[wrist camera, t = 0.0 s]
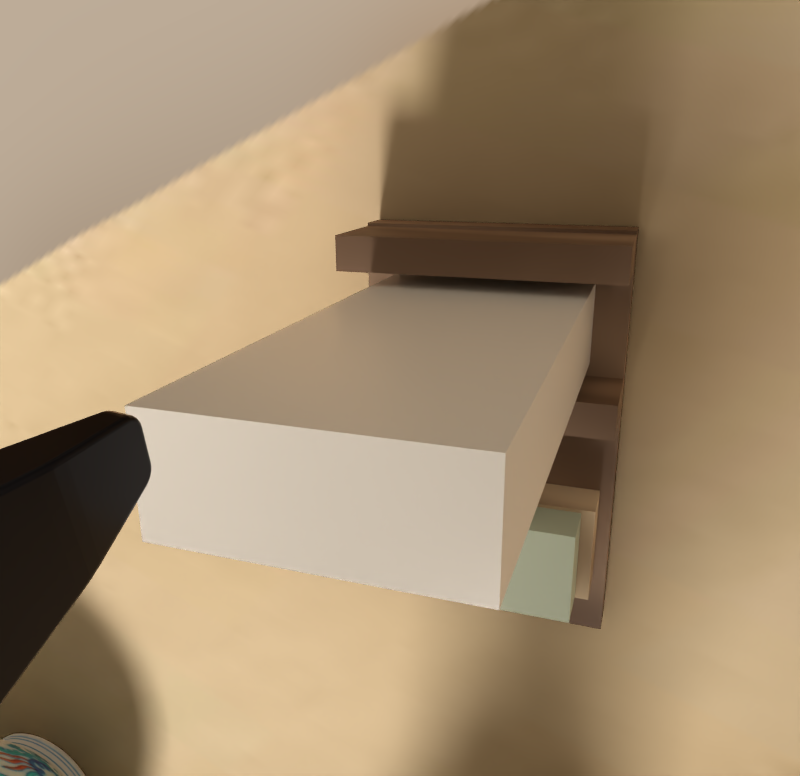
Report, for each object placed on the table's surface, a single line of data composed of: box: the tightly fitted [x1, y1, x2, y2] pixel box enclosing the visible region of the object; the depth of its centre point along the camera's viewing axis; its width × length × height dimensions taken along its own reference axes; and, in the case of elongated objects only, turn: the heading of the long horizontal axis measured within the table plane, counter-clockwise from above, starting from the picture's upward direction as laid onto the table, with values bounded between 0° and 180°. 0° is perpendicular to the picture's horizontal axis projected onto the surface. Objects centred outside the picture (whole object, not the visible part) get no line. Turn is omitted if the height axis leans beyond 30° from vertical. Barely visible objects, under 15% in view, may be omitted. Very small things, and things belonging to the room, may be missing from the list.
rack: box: [335, 220, 639, 629], centre depth 23 cm, size 13×8×4 cm, turn 0°
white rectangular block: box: [125, 274, 596, 610], centre depth 17 cm, size 2×6×13 cm, turn 89°
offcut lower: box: [537, 483, 600, 600], centre depth 24 cm, size 3×7×2 cm, turn 90°
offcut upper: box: [500, 507, 581, 623], centre depth 23 cm, size 3×6×2 cm, turn 89°
